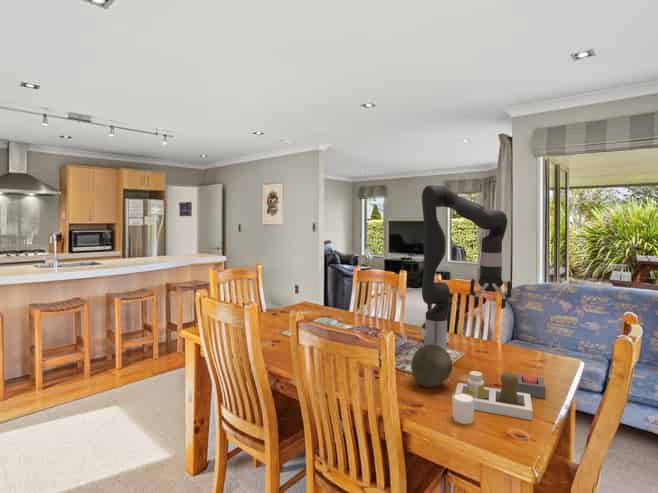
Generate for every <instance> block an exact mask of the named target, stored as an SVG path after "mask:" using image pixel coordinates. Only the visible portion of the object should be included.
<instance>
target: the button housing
mask: <svg viewBox="0 0 658 493" xmlns="http://www.w3.org/2000/svg"><path fill="white" fill-rule="evenodd" d="M515 375H516V376H517V378H518V384H517V385H516V390H517V392H520V393H527V394H530V397H532V398H538V399H544V400H545V399H546V388H547V387H546V383H545V380H544V377H541V376H533V375H532V376H533V377H535V378H537V384H533V383H526V382H523V376H529V375H527V374H519V373H515Z"/></svg>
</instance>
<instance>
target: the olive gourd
mask: <svg viewBox="0 0 658 493" xmlns="http://www.w3.org/2000/svg"><path fill="white" fill-rule="evenodd" d="M500 382H501V394H500V399H499V400H498V402H500V403H506V404H512V405H518V406H519V403H518V399H517V390H516V385H517V384H518V378H517V376H516V374H514V373H510V372H504V373H502V374H501V375H500Z"/></svg>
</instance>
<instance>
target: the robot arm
mask: <svg viewBox="0 0 658 493" xmlns="http://www.w3.org/2000/svg"><path fill="white" fill-rule="evenodd" d="M421 205H422V215H423V272H422V286H421V298H422V300H423V302H424V303H425V304H426V305H434V306H433V307H432V308H430V309H428V310H427V311H426V312H425V318H426V319H425V318H424V323H425V336H424V341H423V346H424V345H429V344H433V345H437V346H440V347H441V348H443V349H444V350H445V351H446V352H447V351H448V350H447V349H448V348H447V344H448V343H447V335H448V316H449V313H450V298H451V294H450V293H451V292H450V288H449V285H448V284H447V283H446V282H445V281H444V282H442V281H439V282H435V277H436V272H437V269H438V268H439V266H440V264H441V263H442V260H443V259H444V258H445V255H446V246H447V244H446V243H447V242H446V235H445V233H444V230H443V228H442V227H441V225H440V222H439V220H438V217H437V216H438V215H437V208H442V207H443V208H449V209H452V210H454V211H455V213H456V214H457V215H458V216H460V217H462V218H464V219H465V220H467V221H469V222H472V223H473V224H474V225H476V226H477V227H478V228H480V229H482V230H486V231H489V232H488V234H487V235H486V236H484V237H483V238H482V239H481V246H480V247H481V252H480V261H479V264H480V266H479V279H476V278H471V279H470V286H469V295H470V296H473V297H474V306H476V307H477V308H479V306H480V295H481V294H482V292H486V293H490V292H491V293H497V294H498V295H499V296H500V297H501V302H500V306H501V307H500V309H501V310H504V308H506V300H507V299H511V298H512V282H511V280H507V281H505V280H503V278H502V277H503V253H502V252H503V240H504V237H505V234H506V230H507V226H508V218H507V215H506V213H505V212H504V211H502V210H488V209H486V208H485V207H484V206H483V205H481V204H479V203H477V202H475V201H472V200H469V199H467V198H464V197H462V196H460V195H458V193H456V192H454V191H452V190H451V189H450V188H448V187H446V186H444V185H435V184H434V185H432V184H431V185H426V186H424V188H423V190H422V193H421ZM477 283H478V284H479V286H480V287H479V289H478V290H477V291H476V292H475V291H474V290H475V286H476V285H477ZM503 285H504V287H505V288H506V289H507V290H506V291H507V293H506V294H505V293H504V291H503V290H502V289H501V287H502V286H503Z"/></svg>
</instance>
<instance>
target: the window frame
mask: <svg viewBox="0 0 658 493" xmlns="http://www.w3.org/2000/svg"><path fill="white" fill-rule="evenodd" d="M455 393H465V394H467V383H461V382H458V383H457V386H456V388H455ZM455 393H454V394H455ZM500 394H501V389H500V388H495V387H488V386H484V400H482V399H477V398H475V407H474V411H479V412H484V413H489V414H495V415H500V416H506V417H513V418H517V419H523V420H528V421H533V412H534V410H533V405H532V398H531V397H530V394H527V393H520V392H517V399H518V405H512V404H506V403H500V402H499V399H500ZM520 404H521V405H520Z"/></svg>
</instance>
